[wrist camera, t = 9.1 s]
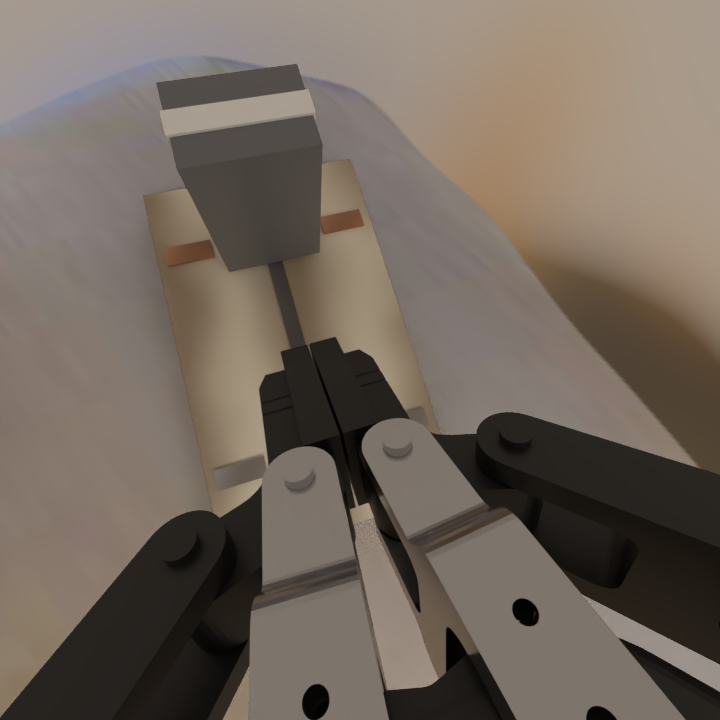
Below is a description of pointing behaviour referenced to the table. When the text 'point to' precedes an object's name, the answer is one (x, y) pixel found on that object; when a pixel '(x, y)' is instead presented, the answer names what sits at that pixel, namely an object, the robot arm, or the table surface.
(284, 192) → the fader knob
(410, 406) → the fader panel
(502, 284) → the table surface
